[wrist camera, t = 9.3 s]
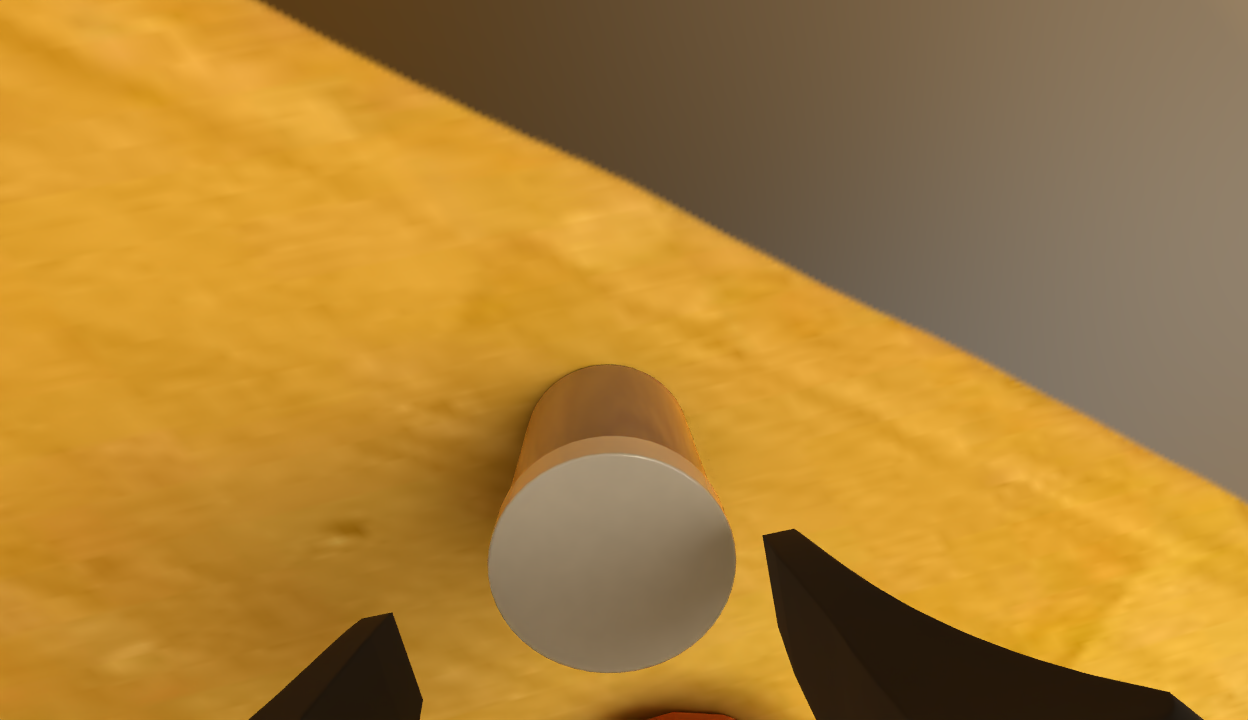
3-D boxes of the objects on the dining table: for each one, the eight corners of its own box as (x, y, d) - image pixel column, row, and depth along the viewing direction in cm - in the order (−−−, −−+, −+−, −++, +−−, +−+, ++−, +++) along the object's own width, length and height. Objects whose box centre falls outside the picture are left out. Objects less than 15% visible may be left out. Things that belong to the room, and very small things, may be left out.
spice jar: (657, 535, 22) (685, 698, 15) (502, 490, 21) (457, 638, 14) (715, 391, 20) (774, 496, 14) (552, 338, 20) (529, 420, 13)
